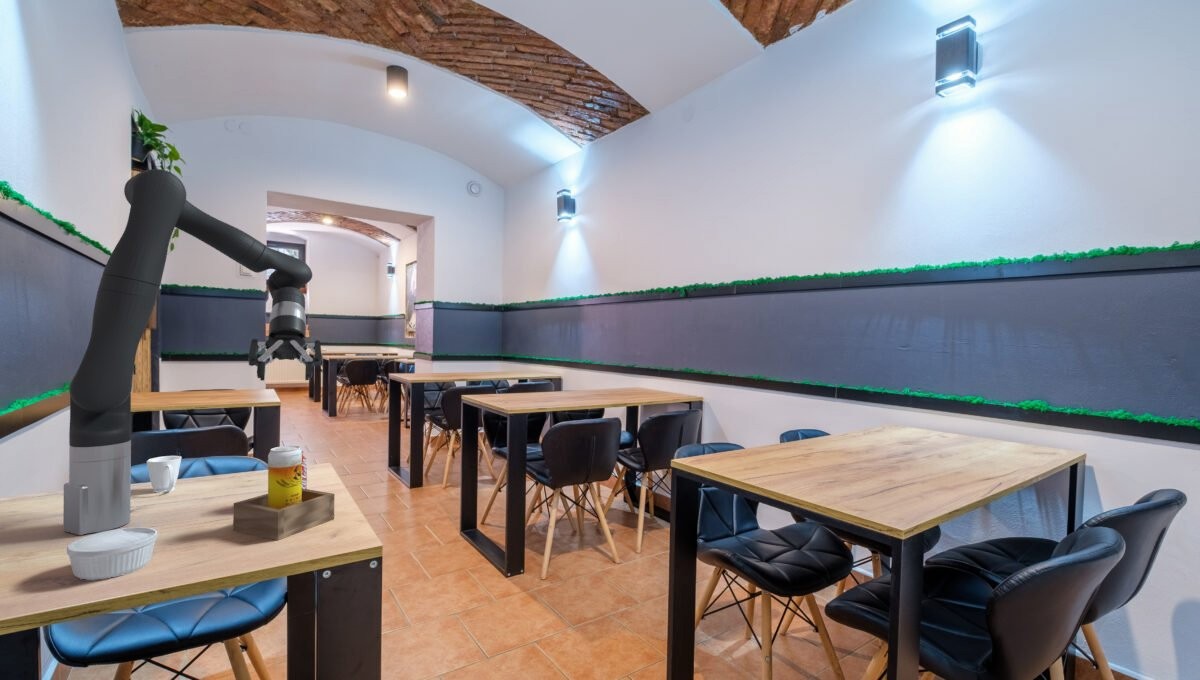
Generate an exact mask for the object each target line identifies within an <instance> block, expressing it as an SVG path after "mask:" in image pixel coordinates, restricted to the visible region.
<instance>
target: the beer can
mask: <svg viewBox="0 0 1200 680" xmlns="http://www.w3.org/2000/svg"><path fill="white" fill-rule="evenodd" d="M302 451H303V450H301V447H300V446H298V445H282V446H277V447H273V448H270V450H269V453H268V455H267V494H268V507H270V508H275V509H282V508H285V507H288V506H292V505H295V504H298V503H301V502H302Z"/></svg>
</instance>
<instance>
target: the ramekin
mask: <svg viewBox="0 0 1200 680" xmlns="http://www.w3.org/2000/svg"><path fill="white" fill-rule="evenodd" d="M158 534H159V532H158V531H157V529H155V528H151V527H145V526H139V527H138V526H133V527H122V528H114V529H110V530H106V531H101V532H95V533H92V534H90V535H87V536H84V537H81V538H79V539H76V540H74V541H72V542H71V543H69V544H68V545H67V547H66V554H67V555H68V556H69V561H70V565H71V569H72V574H73V575H74V576H75V577H76V578H78V579H79V578H80V579H79V580H82V579H87V580H86V581H96V580H95V579H102V580H106V579H105V578H109V579H112V578H111V577H114V578H117V577H116V576H118V577H121V576H120V575H122V576H124V575H123V574H125V575H128V574H131V573H133V572H132V571H134V572H135V570H136V571H138V570H140V569H142V568H143V567H145V566H147V564H148V563H149V562H150V561H151V559H152V556H153V553H154V548H155V543H156V540H157V539H158V536H159V535H158ZM130 572H131V573H130ZM127 573H128V574H127Z"/></svg>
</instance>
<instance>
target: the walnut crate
mask: <svg viewBox="0 0 1200 680" xmlns="http://www.w3.org/2000/svg"><path fill="white" fill-rule="evenodd" d="M232 515H233V519H232V520H233V521H232V523H233V527H232V530H233V531H235V532H241V533H245V534H250V535H254V536H258V537H262V538H266V539H271V540H275V541H279V540H283V539H285V538H287V537H290V536H292V535H296V534H298V533H301V532H303V531H306V530H308V529H312V528H314V527H316V526H317V527H318V526H320V525H322V524H324V523H328V522H331V521H333V520H334V519H335V493H332V492H326V491H325V492H324V491H320V490H314V489H303V488H302V502H301V503H298V504H295V505H292V506H288V507H285V508H282V509H275V508H270V507H268V493H265V494H261V495H257V496H254V497H251V498H247V499H244V500H240V501H237V502H234V503H233V514H232Z"/></svg>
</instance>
